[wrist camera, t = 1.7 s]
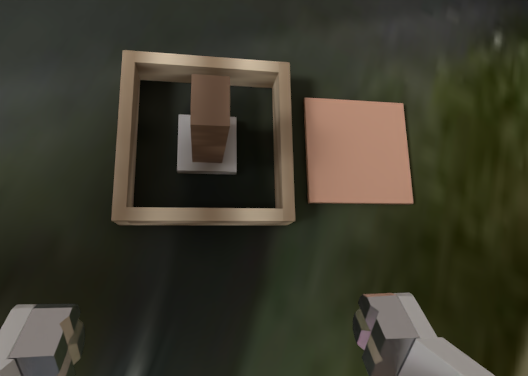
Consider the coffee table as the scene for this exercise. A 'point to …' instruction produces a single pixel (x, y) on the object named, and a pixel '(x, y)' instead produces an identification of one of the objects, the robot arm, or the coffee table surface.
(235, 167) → the wooden post
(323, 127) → the terracotta tile
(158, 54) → the frame
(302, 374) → the coffee table surface
